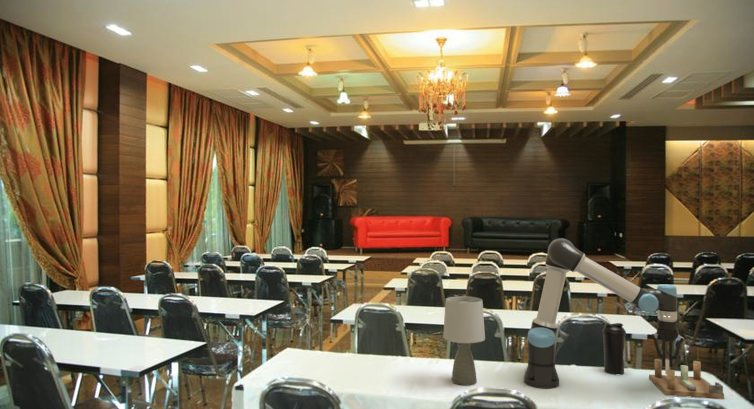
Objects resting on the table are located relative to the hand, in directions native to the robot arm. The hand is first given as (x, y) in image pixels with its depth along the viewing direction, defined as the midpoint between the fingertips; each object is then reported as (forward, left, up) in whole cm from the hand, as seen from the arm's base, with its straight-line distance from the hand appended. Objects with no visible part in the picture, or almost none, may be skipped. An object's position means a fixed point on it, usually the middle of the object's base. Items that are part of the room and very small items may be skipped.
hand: (667, 373), depth 234 cm
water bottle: (-18, +17, -5) cm, 25 cm away
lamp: (-88, -10, -5) cm, 89 cm away
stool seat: (+6, -2, -5) cm, 8 cm away
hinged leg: (+6, -7, -3) cm, 9 cm away
